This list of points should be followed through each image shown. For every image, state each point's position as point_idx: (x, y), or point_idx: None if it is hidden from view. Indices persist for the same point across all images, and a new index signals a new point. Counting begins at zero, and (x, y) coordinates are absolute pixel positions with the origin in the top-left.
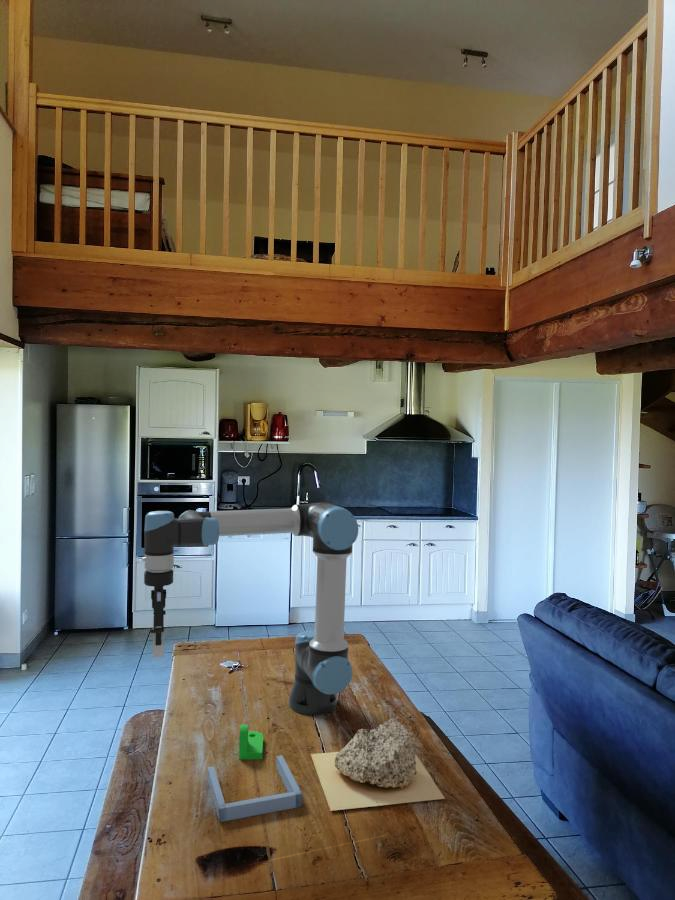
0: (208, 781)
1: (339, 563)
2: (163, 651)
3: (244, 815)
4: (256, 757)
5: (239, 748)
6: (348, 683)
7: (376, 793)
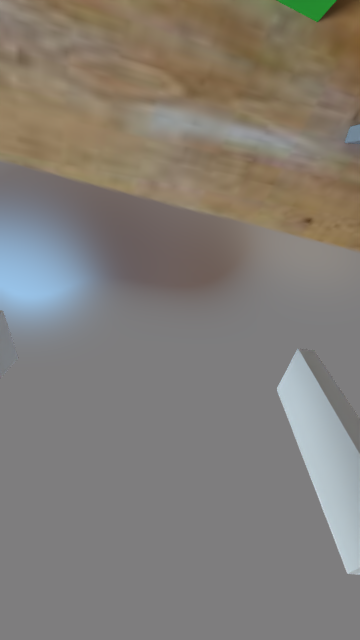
0: (358, 143)
1: None
2: (328, 373)
3: None
4: None
5: (333, 3)
6: None
7: None
